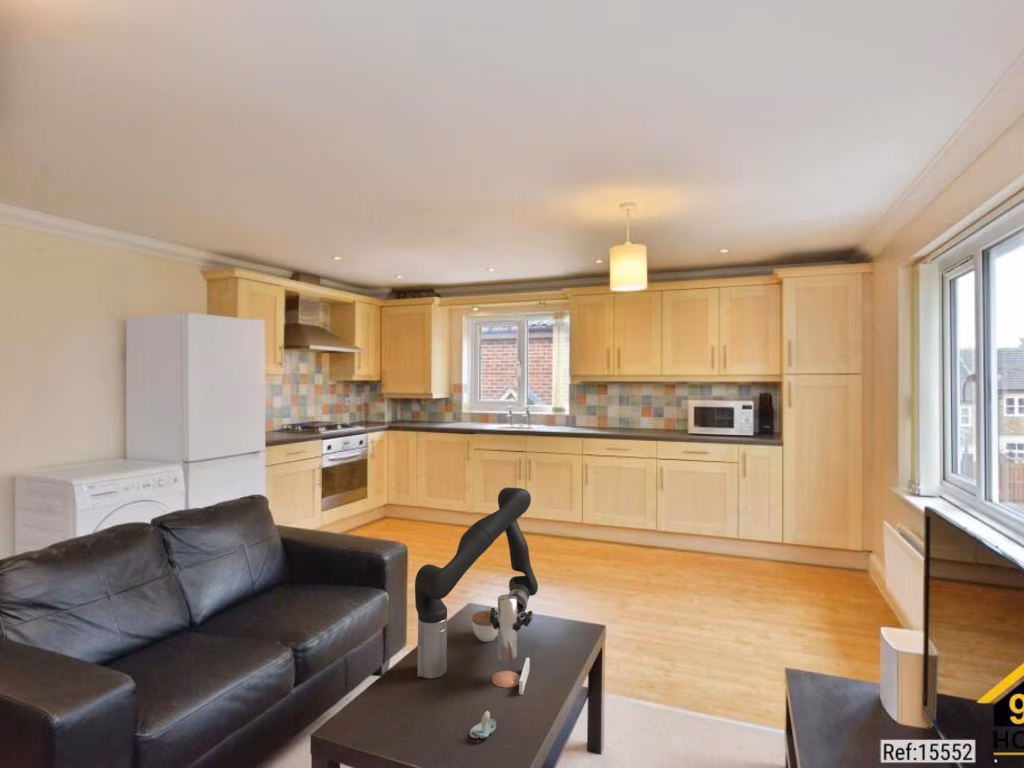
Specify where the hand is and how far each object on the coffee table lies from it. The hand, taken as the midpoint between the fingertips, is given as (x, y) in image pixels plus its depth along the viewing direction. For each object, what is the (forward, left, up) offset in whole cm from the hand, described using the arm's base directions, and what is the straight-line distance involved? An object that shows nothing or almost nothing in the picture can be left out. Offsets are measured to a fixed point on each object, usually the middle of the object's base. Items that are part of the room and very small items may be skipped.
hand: (505, 627), depth 167 cm
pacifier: (-10, -22, -18) cm, 30 cm away
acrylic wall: (+6, 0, -17) cm, 18 cm away
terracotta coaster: (+1, +2, -17) cm, 18 cm away
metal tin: (+1, +2, -10) cm, 10 cm away
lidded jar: (-2, +30, -18) cm, 35 cm away
